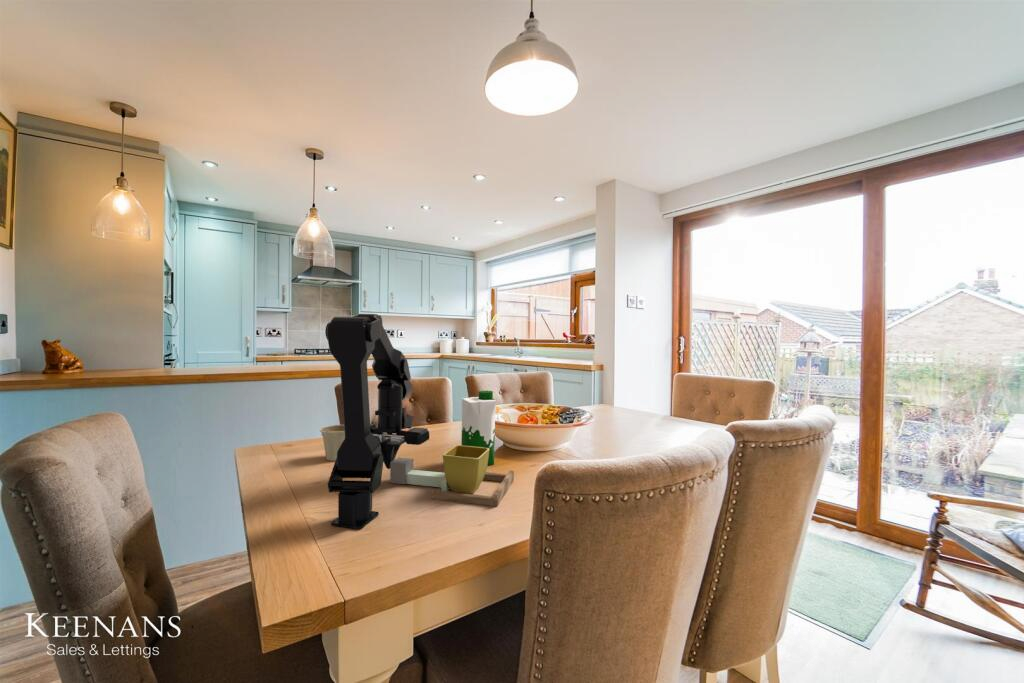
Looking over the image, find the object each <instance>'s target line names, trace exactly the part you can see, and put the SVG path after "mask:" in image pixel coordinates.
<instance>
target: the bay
mask: <svg viewBox="0 0 1024 683" xmlns="http://www.w3.org/2000/svg"><path fill="white" fill-rule="evenodd" d="M514 477H515V472H514V470H509V471H508V473H497V472H487V471H486V473H485V476H484V478H483V480H485V481H492V482H493V481H494V482H501V483H499V485H498V486H497V488H496V490H495V491H494V492H493V494H492V495H491V496H490V495H481V494H475V493H464V492H456V491H441V490H437V489H433V490H432V492H431V499H432V500H440V501H447V502H449V501H450V502H454V503H455V502H457V503H463V504H464V503H465V504H473V505H483V506H493V507H498V506H499V505H500V503H501V501H502V500H503V498H504V497H505V496H506V494H507V492H508V490H509V489H510V487H511V486H512V484H513V483H514ZM483 480H482V481H483Z"/></svg>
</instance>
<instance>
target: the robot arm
mask: <svg viewBox="0 0 1024 683" xmlns="http://www.w3.org/2000/svg"><path fill="white" fill-rule="evenodd" d="M324 333H325V337H326V339H327V343H328V350H329V353H330V354H331V356H332V357H333V358H334V360H336V363H338V365H339V371H340V383H341V386H340V387H341V399H342V400H341V402H342V414H343V416H342V417H343V425H344V431H345V439H344V441H343V442H342V444H341V446H340V448H339V449H338V451H337V458H336V461H334V464H333V468H332V470H331V472H330V477H329V478H328V480H327V488H328V493H338V494H337V496H338V497H337V498H338V499H337V500H338V502H337V503H338V504H337V505H338V506H337V507H338V508H337V510H338V511H337V512H338V513H337V515H338V516H337V517H336V518H335V519H333V520H332V521H330V522H331V523H330V525H331V526H335V527H343V528H348V529H349V528H350V529H356V530H360V529H363V528H364V527H365V526H366V525H368V524H369V523H370V522H372V521H373V520H374V519H375V518H377V517H379V514H380V513H379V511H376V510H375V511H374V510H373V494H374V493H375V492H376V491H377V490H378V488H380V487H381V485H382V476H383V469H384V468H383V467H384V466H385V468H386V469H387V470H390V468H391V462H392V461H393V460H395V459H396V456H397V454H398V451H399V449H400V448H401V446H402V445H403V444H405V443H406V445H411V446H412V445H413V446H414V445H415V446H420V445H422V444H424V443H425V442H427V441H429V440H430V432H429V429H428V428H425V427H416V426H415V427H413V428H412V426H413V422H414V420H413V419H414V416H413V415H410V414H407V413H406V409H405V407H403V400H405V399H406V398H408V397H410V396H411V394H412V392H413V389H414V388H413V384H412V382H411V381H410V380H411V379H412V376H411V372H410V367H409V362H408V359H406V356H405V355H404V354H403V352H402V351H401V350H398V349H396V348H394V346H393V344H392V342H391V340H390V338H389V336H388V334H387V332H386V330H385V328H384V326H383V318H382V316H381V315H378V314H377V313H358V314H355V315H352V316H334V317H332V318H331V321H329V322H328V323H327V324H326V326H325V332H324ZM370 356H372V357H373V362H372V364H371V369H372V371H373V373H374V375H375V377H376V378H377V380H378V381H380V382H379V383H378V384H377V390H378V393H377V396H378V398H377V409H376V410H374V415H375V416H377V426H376V424H374V423H371V414H370V412H371V411H370V400H369V399H370V396H369V394H370V393H369V378H368V377H369V376H368V375H369V374H368V360H369V358H370ZM406 429H408V430H406ZM343 479H344V480H343ZM345 479H370V480H345Z"/></svg>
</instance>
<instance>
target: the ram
mask: <svg viewBox="0 0 1024 683" xmlns="http://www.w3.org/2000/svg"><path fill="white" fill-rule="evenodd" d="M389 470H390V474H389V476H390V483H391V484H397V485H415V486H423V487H436V488H440V489H441V490H440V491H447V492H449V490H450V489H451V488H450V487H449V485H448V483H447V481H446V478H445V473H444V472H440V471H439V472H438V471H429V470H418V469H414V458H411V457H410V458H409V457H399V456H398V457H397V458H395V459H394V460H393V461H392V462H391V468H390V469H389Z"/></svg>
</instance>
